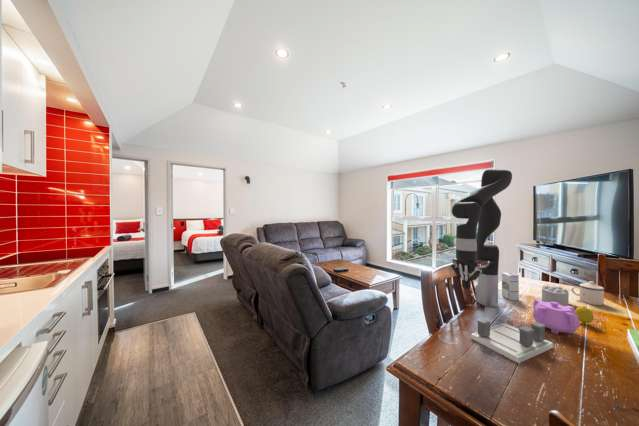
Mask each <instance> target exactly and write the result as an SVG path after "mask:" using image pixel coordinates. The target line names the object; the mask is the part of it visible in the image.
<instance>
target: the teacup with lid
mask: <svg viewBox="0 0 639 426" xmlns="http://www.w3.org/2000/svg"><path fill="white" fill-rule="evenodd" d="M574 289H579V294H578V293H576V292H575V290H574ZM605 290H606V289H605V288H604V287H603V286H600V285H598V284H596V283H595V281H593V280H592V281H590V280H589V281H588V282H584V283H580V284H578V286H573V287H571V292H572V294H574V296H579V300H580V301H581V302H583V303H586V304H588V305H589V304H590V305H594V306H603V305H604V304H605Z"/></svg>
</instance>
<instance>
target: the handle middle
mask: <svg viewBox="0 0 639 426" xmlns="http://www.w3.org/2000/svg"><path fill="white" fill-rule="evenodd" d="M518 329H519V330H520V344H522V345H524V346H526V347H529V346H531V345H533V332H534V329H532V327H529V326H526V325H523V326H521V327H518Z"/></svg>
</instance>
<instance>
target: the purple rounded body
mask: <svg viewBox="0 0 639 426" xmlns="http://www.w3.org/2000/svg"><path fill="white" fill-rule="evenodd" d="M532 309H533V312H532V317H533V319H534V322H539V323H541V324H544V325H546V327H545V328H547V329H549V330H550V332H551V333H553V334H555V335H559V333H566V334H572V335H573V333H575V332H576V331H577V330H578V329H579V328H581V325H580V321H579V319H578V316H577V315H575V310H576V309H575V307H574V306H571V305H568V306H562V305H559V303H557V302H543V301H542V300H540V299H534V301H533V306H532Z"/></svg>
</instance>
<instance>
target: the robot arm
mask: <svg viewBox="0 0 639 426" xmlns="http://www.w3.org/2000/svg"><path fill="white" fill-rule="evenodd" d="M512 180H513V173H512V172H511V170H507V169H498V168H497V169H495V168H494V169H493V168H492V169H491V168H490V169H489V168H488V169H485V170H484V171H483V173H482V177H481V182H480V183H481V184H480V187H479V188H477V189H475V190H474V191H472V192H471V193H470V194H469V195H468V196H466V197H464V198H462V199H460V200H458V201H457V202H455V203H454V204H453V206H451V207H452V208H451V214H452V216H453V217H454V218H456V219H463V220H465V219H467V221H466V222H465V223H462V224H461V223H460V224H458V225H457V226H456V240H455V258H456V260H455V263H453V264H451V265H450V267H451V268H452V270H453V272H454V273H455V275H456V277H458V278H460V279H461V286H462V289H464V290H466V291H467V290H470V289H471V286H472V284H471V283H472V282H471V281H476V280H477V284H475V302H477V303H478V304H479V305H480V306H481V305H482V306H484V307H489V308H498V306H499V264H500V263H499V261H500V249H499V247H498V245H496V244H493V243H492V244H489V243H488V244H487V243H485V242H486V240H487V239H488V238H489V237H490V235H492V234H493V233H494V232H496V230H497V229H498V228H499V226H500V224H501V219H502V212H501V209H500V207H499V206H498V204H497V202H496V201H495V199H494V196H496V195H499V193H502V192H503V191H504V190H507V188H508V187H509V186H510V185H511V182H512ZM477 261H480V262H483V261H484V262H488V263H486V264H484V265H479V266H478V264H477ZM473 272H474V273H473Z"/></svg>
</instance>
